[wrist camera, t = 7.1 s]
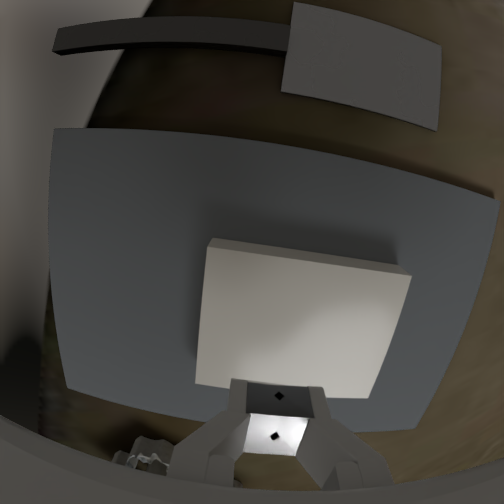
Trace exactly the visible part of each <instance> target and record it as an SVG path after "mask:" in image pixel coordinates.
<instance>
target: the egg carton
mask: <svg viewBox="0 0 504 504" xmlns="http://www.w3.org/2000/svg"><path fill="white" fill-rule="evenodd" d="M173 450H174V445H172V444H171V443H169V442H168V441H166V440H164V439H161V440H151V439H148V438H146V437H143V436H140V437H138V438H137V439H135V442H134V444H133V448H132V450H131V452H130V454H129V453H125V452H123V451H121V450H120V451H118V452H116V453H115V454H114V457H113V459H112V461H111V462H113V463H116V464H119V465H123V466H126V467H130V468H133V469H135V468H136V465H137V462H138V459H139V460H141V461H142V462H143V463H144V462H148V463H149V464H148V467H147V470H146V472H149V473H153V474H157V475H162V476H166V475H167V471H168V468H169V464H170V460H171V457H172V453H173ZM233 487H236V488H243V485H242V483H240V482H238V481H236V480H233Z"/></svg>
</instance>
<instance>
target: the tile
mask: <svg viewBox="0 0 504 504" xmlns="http://www.w3.org/2000/svg"><path fill="white" fill-rule="evenodd" d="M411 277H412V276H411V275H410V274H409V273H408V272H406V271H405V270H404V269H403V268H401V267H400V266H399V265H395V264H388V263H382V262H375V261H369V260H362V259H356V258H349V257H342V256H336V255H329V254H322V253H316V252H309V251H302V250H295V249H289V248H282V247H275V246H268V245H261V244H254V243H247V242H240V241H233V240H226V239H219V238H212V240H211V241H210V243H209V245H208V246H207V254H206V264H205V273H204V283H203V294H202V304H201V315H200V327H199V339H198V351H197V365H196V379H195V384H201V385H208V386H214V387H221V388H228V389H230V382H231V378H236V379H243V380H251V381H259V382H266V383H274V384H282V385H294V386H320V387H323V388H324V392H325V396H326V397H328V398H368V397H369V394H370V392H371V390H372V387H373V385H374V383H375V380H376V378H377V376H378V373H379V371H380V368H381V366H382V363H383V361H384V358H385V355H386V353H387V350H388V348H389V345H390V342H391V339H392V337H393V334H394V331H395V328H396V325H397V322H398V319H399V316H400V313H401V310H402V307H403V304H404V301H405V298H406V294H407V291H408V288H409V284H410V281H411Z"/></svg>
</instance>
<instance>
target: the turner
mask: <svg viewBox="0 0 504 504" xmlns="http://www.w3.org/2000/svg"><path fill="white" fill-rule="evenodd" d="M133 48H196V49H214V50H227V51H238V52H247V53H256V54H264V55H271V56H278V57H284V58H286V59H285V66H284V72H283V79H282V86H281V93H287V94H293V95H298V96H304V97H309V98H314V99H319V100H324V101H329V102H333V103H338V104H342V105H346V106H350V107H354V108H358V109H362V110H366V111H370V112H374V113H377V114H381V115H384V116H388V117H391V118H395V119H398V120H401V121H404V122H408V123H411V124H414V125H417V126H420V127H423V128H426V129H429V130H432V131H434V132H436V131H437V127H438V117H439V105H440V90H441V65H442V46H440V45H438V44H435V43H433V42H431V41H428V40H426V39H424V38H421V37H419V36H416V35H414V34H411V33H408V32H406V31H403V30H400V29H397V28H395V27H392V26H389V25H386V24H383V23H380V22H376V21H373V20H370V19H367V18H363V17H360V16H356V15H352V14H349V13H345V12H341V11H337V10H333V9H328V8H324V7H319V6H314V5H309V4H304V3H298V2H294V4H293V11H292V18H291V25H285V24H279V23H272V22H264V21H256V20H246V19H235V18H221V17H198V16H166V17H143V18H129V19H118V20H109V21H101V22H93V23H87V24H80V25H75V26H69V27H64V28H59V29H58V31H57V35H56V38H55V42H54V46H53V49H52V52H54V53H56V54H59V55H61V56H63V55H70V54H77V53H86V52H95V51H107V50H121V49H133Z"/></svg>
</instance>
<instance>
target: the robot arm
mask: <svg viewBox="0 0 504 504" xmlns="http://www.w3.org/2000/svg"><path fill="white" fill-rule="evenodd" d="M243 452H249V453H265V454H278V455H291V456H295V457H296V459H297V460H298V461H299V462H300V464H301V465H302V466H303V467H304V469H305V470H306V471H307V472H308V473H309V475H310V476H311V477H312V478H313V480H314V481H315V482H316V483H317V484H318V486H319V487H320V488H321V490H320V491H277V490H259V489H246V488H236V487H233V479H234V462H235V461H236V460H237V459H238V458H239V457H240V456H241V455H242V453H243ZM0 504H504V457H503V458H501V459H498V460H495V461H492V462H489V463H486V464H483V465H479V466H476V467H473V468H469V469H466V470H462V471H458V472H454V473H451V474H446V475H442V476H438V477H433V478H429V479H424V480H418V481H413V482H407V483H401V484H394V482H393V479H392V476H391V473H390V470H389V468H388V465H387V462H386V459H385V458H384V457H383V456H382V455H380V454H379V453H378V452H376V451H375V450H374V449H373V448H371V447H370V446H369V445H367V444H366V443H365V442H364V441H362V440H361V439H360V438H359V437H357V436H356V435H355V434H354V433H352V432H351V431H350V430H349V429H347V428H346V427H345V426H344V425H342V424H341V423H340V422H339V421H338V420H336V419H332V418H331V414H330V410H329V407H328V403H327V399H326V396H325V392H324V388H323V387H320V386H294V385H282V384H274V383H266V382H259V381H251V380H243V379H236V378H231V382H230V389H229V395H228V402H227V409H226V411H224V410H222V411H221V412H220V413H219V414H217V415H216V416H215V417H213V418H212V419H211V420H209V421H208V422H207V423H205V424H204V425H203V426H201V427H200V428H199V429H197V430H196V431H195V432H193V433H192V434H191V435H189V436H188V437H187V438H185V439H184V440H182V441H181V442H180V443H178V444H177V445H175V446H174V450H173V453H172V457H171V460H170V464H169V468H168V471H167V475H166V476H162V475H157V474H153V473H149V472H145V471H141V470H137V469H133V468H130V467H126V466H123V465H119V464H116V463H113V462H109V461H106V460H103V459H100V458H97V457H94V456H91V455H88V454H85V453H83V452H80V451H77V450H75V449H72V448H69V447H67V446H64V445H62V444H59V443H57V442H55V441H52V440H50V439H48V438H45V437H43V436H41V435H39V434H36V433H34V432H32V431H30V430H28V429H26V428H24V427H22V426H20V425H18V424H16V423H14V422H12V421H10V420H8V419H6V418H4V417H2V416H1V415H0Z"/></svg>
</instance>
